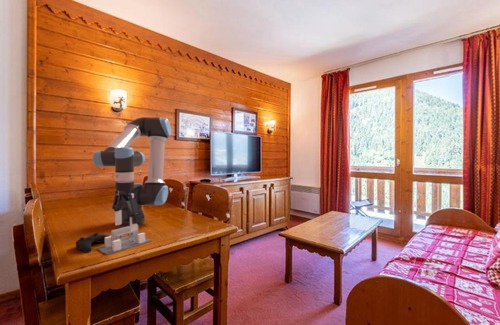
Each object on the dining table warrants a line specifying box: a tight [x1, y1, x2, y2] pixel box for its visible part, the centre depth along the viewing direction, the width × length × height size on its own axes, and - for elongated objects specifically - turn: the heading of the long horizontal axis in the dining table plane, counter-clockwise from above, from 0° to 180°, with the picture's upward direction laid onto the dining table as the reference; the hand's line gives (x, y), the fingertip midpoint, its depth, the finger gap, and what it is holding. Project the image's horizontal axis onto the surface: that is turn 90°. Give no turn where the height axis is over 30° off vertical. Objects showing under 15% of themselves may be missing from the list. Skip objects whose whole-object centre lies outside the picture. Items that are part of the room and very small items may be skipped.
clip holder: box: [96, 232, 153, 256], centre depth 110 cm, size 10×20×4 cm, turn 144°
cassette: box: [110, 224, 139, 247], centre depth 110 cm, size 12×2×8 cm, turn 144°
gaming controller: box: [75, 232, 110, 253], centre depth 109 cm, size 14×6×10 cm
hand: (125, 227), depth 111 cm, fingers open, 13 cm apart
